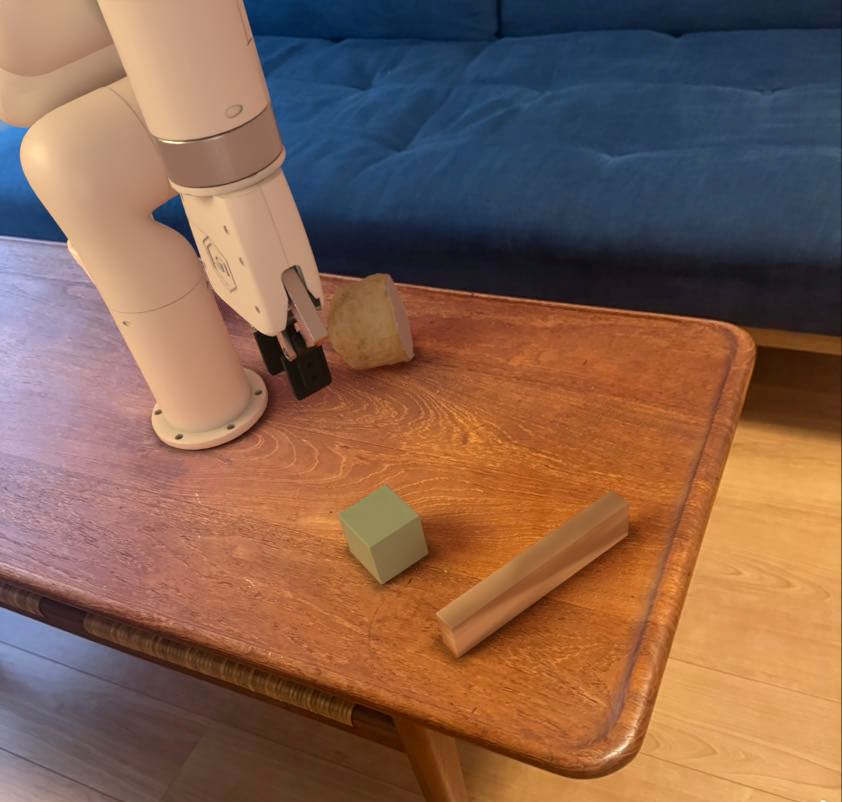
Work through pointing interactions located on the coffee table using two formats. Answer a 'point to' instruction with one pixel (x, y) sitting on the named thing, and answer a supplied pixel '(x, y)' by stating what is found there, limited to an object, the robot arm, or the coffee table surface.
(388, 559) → the block
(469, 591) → the straightedge
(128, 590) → the coffee table surface
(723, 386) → the coffee table surface
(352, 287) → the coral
